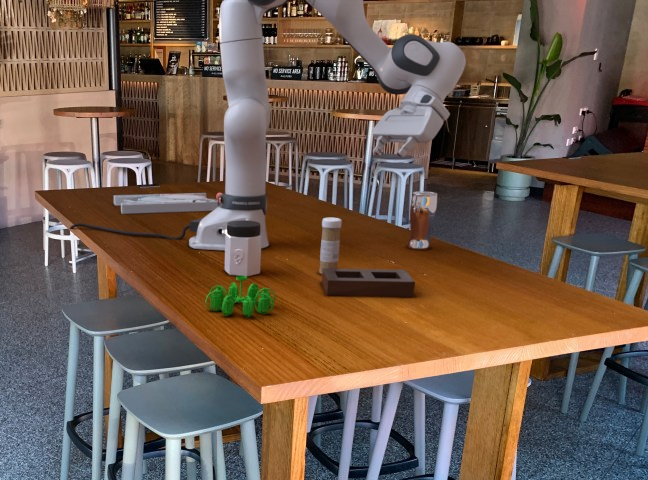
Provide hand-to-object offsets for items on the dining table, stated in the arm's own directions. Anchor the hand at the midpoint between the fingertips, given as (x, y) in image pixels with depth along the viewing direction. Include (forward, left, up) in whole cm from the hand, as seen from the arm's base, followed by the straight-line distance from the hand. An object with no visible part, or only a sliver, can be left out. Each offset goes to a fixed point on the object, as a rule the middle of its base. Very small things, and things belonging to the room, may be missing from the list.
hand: (387, 154), depth 193 cm
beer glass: (+15, +20, -27) cm, 37 cm away
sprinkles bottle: (-14, -11, -27) cm, 33 cm away
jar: (-35, -11, -27) cm, 46 cm away
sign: (-60, +79, -27) cm, 103 cm away
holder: (-7, -25, -27) cm, 37 cm away
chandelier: (-36, -42, -27) cm, 61 cm away
